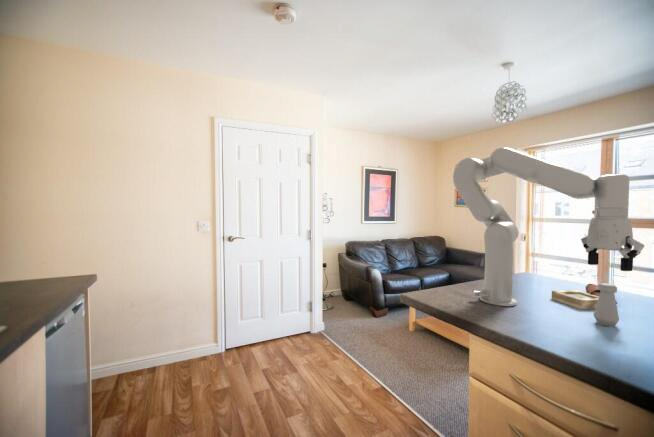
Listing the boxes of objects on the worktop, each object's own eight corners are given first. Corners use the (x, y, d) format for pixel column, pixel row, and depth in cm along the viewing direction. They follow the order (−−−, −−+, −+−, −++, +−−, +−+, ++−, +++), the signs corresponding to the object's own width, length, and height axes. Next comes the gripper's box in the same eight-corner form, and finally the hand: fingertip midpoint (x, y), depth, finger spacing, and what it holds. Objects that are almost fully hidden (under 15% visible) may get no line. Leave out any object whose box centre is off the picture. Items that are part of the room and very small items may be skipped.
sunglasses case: (619, 303, 105) (605, 287, 107) (597, 310, 109) (585, 294, 111) (612, 292, 119) (600, 278, 121) (593, 299, 123) (582, 285, 125)
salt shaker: (621, 329, 86) (623, 287, 85) (596, 325, 89) (598, 284, 88) (614, 323, 91) (616, 283, 90) (591, 319, 94) (592, 280, 93)
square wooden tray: (580, 309, 103) (580, 300, 103) (551, 298, 115) (551, 290, 115) (609, 308, 104) (610, 299, 104) (578, 298, 116) (578, 290, 116)
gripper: (573, 213, 97) (571, 262, 97) (632, 214, 79) (629, 273, 80) (593, 213, 97) (591, 262, 98) (655, 214, 80) (653, 273, 81)
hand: (608, 267), depth 89 cm, fingers open, 9 cm apart
